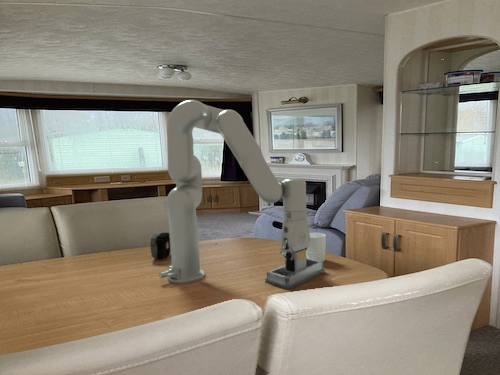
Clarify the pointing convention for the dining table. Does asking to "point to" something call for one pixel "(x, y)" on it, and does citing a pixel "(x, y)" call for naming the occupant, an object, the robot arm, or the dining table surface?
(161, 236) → the cpu cooler
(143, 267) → the dining table surface
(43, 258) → the dining table surface
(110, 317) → the dining table surface
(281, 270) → the rail
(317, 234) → the white cup
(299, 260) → the block
